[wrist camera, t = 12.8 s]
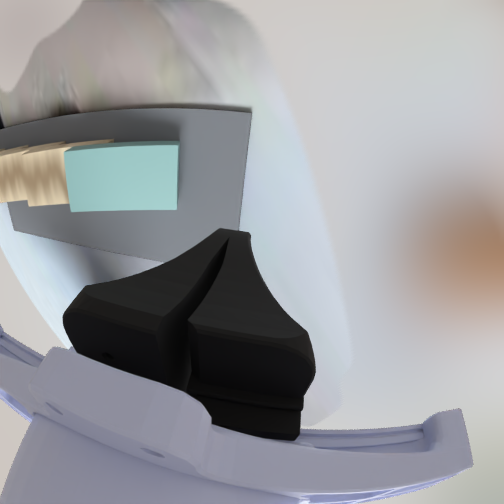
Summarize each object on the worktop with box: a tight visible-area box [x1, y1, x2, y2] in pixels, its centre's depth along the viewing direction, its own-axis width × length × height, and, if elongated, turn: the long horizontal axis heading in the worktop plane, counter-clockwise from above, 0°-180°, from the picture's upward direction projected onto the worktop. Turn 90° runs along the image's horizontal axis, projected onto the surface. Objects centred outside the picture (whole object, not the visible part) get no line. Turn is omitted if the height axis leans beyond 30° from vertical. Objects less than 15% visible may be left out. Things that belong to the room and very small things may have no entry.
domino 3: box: [64, 141, 180, 212], centre depth 19 cm, size 5×2×9 cm
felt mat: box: [0, 108, 252, 263], centre depth 22 cm, size 14×31×1 cm, turn 83°
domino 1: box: [0, 141, 66, 203], centre depth 19 cm, size 5×2×9 cm
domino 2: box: [21, 139, 114, 207], centre depth 19 cm, size 5×2×9 cm
